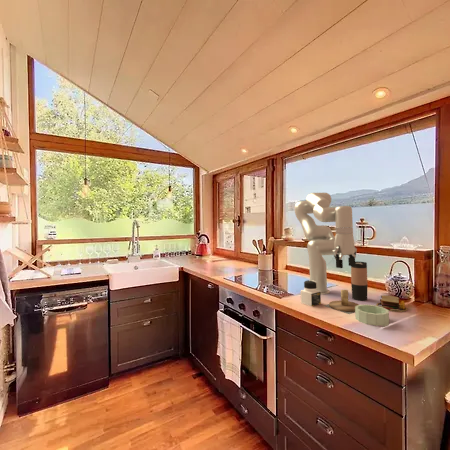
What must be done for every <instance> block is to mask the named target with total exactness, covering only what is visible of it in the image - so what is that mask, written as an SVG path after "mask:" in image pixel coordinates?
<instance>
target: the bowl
mask: <svg viewBox="0 0 450 450" xmlns="http://www.w3.org/2000/svg"><path fill="white" fill-rule="evenodd" d="M379 306H380V305H378V306H376V304H375V305H374V304H359V305H357V306H356V307H355V313H354V315H355V318H354V319H355V320H357V321H358V322H359V323H361V324H365V325H370V326H376V327H379V326H380V327H382V328H386V327H388V326H389V325H390V315H389V314H390V311H388V310H387V309H385V308H383V307H379Z"/></svg>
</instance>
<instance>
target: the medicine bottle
mask: <svg viewBox="0 0 450 450" xmlns="http://www.w3.org/2000/svg"><path fill="white" fill-rule="evenodd" d="M303 285H304V286H303V289H301V290H300V303H301V304H304V305H306V306H309V307H315V306H318V305H321V303H322V299H321V298H322V297H321V296H322V294H321V291H319V290H316V289H317V284H316V282H315V281H312V280H310V279H309V280H305V281H304V282H303Z"/></svg>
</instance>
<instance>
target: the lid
mask: <svg viewBox="0 0 450 450" xmlns="http://www.w3.org/2000/svg"><path fill="white" fill-rule="evenodd" d="M357 305H360V304H359V303H356V302H353V301H349V290H348V289H341V290H340V300H331V301H330V302H329V306H330V307H331V308H332V310H334V309H335V311H337V310H338V312H341V311H344V312H355V307H356V306H357ZM331 308H330V309H331ZM344 312H343V313H344Z"/></svg>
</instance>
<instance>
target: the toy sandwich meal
mask: <svg viewBox="0 0 450 450" xmlns="http://www.w3.org/2000/svg"><path fill="white" fill-rule="evenodd" d="M380 297H381V298H380V299H379V302H377V303H376V304H375V306H379V307H383V308H385V309H387V310H388V311H389V312H393V313H405V312H407V311H408V309H409V308H408V307H406V303H405V301H404V300H401V302H400V301H399V300H400V297H398V296H393V295H387V294H386V295H381V296H380ZM398 308H399V309H398Z"/></svg>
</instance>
